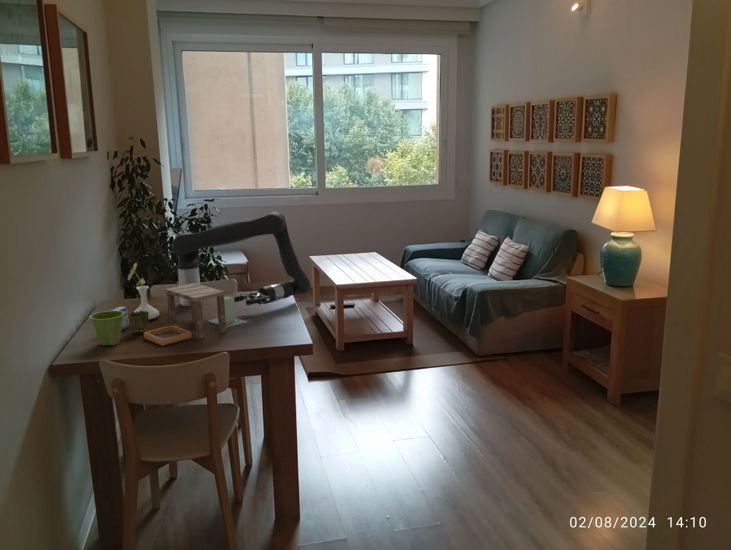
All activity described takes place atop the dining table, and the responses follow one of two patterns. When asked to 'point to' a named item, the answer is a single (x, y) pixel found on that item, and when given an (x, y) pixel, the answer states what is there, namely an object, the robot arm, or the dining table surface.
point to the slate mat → (236, 322)
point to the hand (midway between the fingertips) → (240, 301)
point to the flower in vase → (143, 297)
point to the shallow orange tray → (167, 335)
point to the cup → (139, 320)
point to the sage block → (229, 309)
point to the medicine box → (125, 317)
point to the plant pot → (108, 326)
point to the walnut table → (196, 304)
